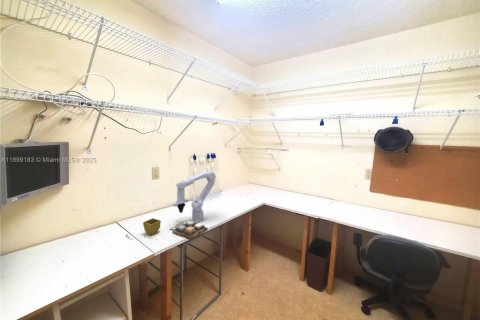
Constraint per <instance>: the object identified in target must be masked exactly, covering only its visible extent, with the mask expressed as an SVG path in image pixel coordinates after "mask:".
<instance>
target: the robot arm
mask: <svg viewBox="0 0 480 320" xmlns="http://www.w3.org/2000/svg"><path fill="white" fill-rule="evenodd" d="M202 179H206V180H207V183H206V185H205V186H204V187H203V189H202V191H201V192H200V194H199V196H198V197H197V198H196V199H195V200H194V201H192V203H191V219H190V220H189V221H193V222H195V223H197V224H198V223H200V222H201V221H203V220H205V218H204V210H203V205H204V201H205V199H206V198H207V196H208V195H209V193H210V192H211V190H212V189H213V186H214V185H215V181H216V174H215V172H213V171H211V170H208V169H207V170H205V171H203V172H201V173H199V174H197V175H195V176H193V177H189V176H188V177H187V178H185V179H182V180H179V181H177V183H176V187H177V191H176V198H177V200H176V202H174V203H173V205H172V206H173V207H177V209H178V212H179V213H180V214H182V213H183V212H184V208H185V207H186V203H188V202H189V198H186V197H185V194H186V193H185V191H186V190H185V189H186V187H189V186H191V185H193V184H194V183H195V182H196V181H198V180H202ZM185 198H186V199H185Z"/></svg>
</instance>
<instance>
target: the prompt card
mask: <svg viewBox="0 0 480 320" xmlns="http://www.w3.org/2000/svg"><path fill="white" fill-rule="evenodd" d="M184 224H185V223H182V222H181V223H179V224H177V225H175V226H173V227H170V228H169V231H173V230H175V229H176V228H178V227H179V226H181V225H184Z"/></svg>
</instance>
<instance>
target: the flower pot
mask: <svg viewBox="0 0 480 320" xmlns="http://www.w3.org/2000/svg"><path fill="white" fill-rule="evenodd" d="M161 223H162V221H161V219H157V218H150V219H148V220H146V221H143V222H142V225H143V229H144V231H145V233H146V234H147V235H150V236H152V235H153V236H154V235H155V234H157V233H158V232H159V231H160V230H161V229H160V228H161Z"/></svg>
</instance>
